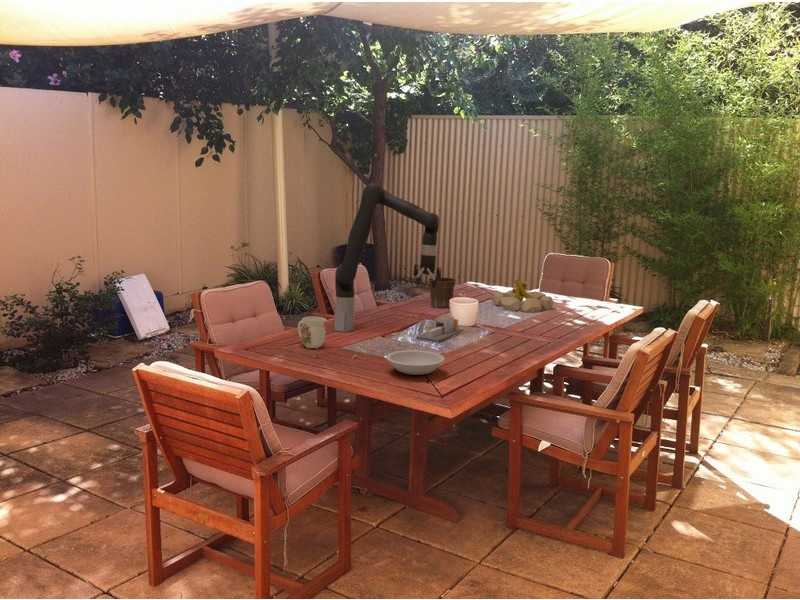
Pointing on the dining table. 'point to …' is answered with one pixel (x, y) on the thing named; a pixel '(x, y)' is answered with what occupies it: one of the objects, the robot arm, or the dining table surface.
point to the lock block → (445, 323)
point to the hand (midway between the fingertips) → (426, 286)
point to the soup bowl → (415, 361)
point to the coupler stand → (440, 333)
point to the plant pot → (441, 292)
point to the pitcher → (312, 331)
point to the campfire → (515, 296)
